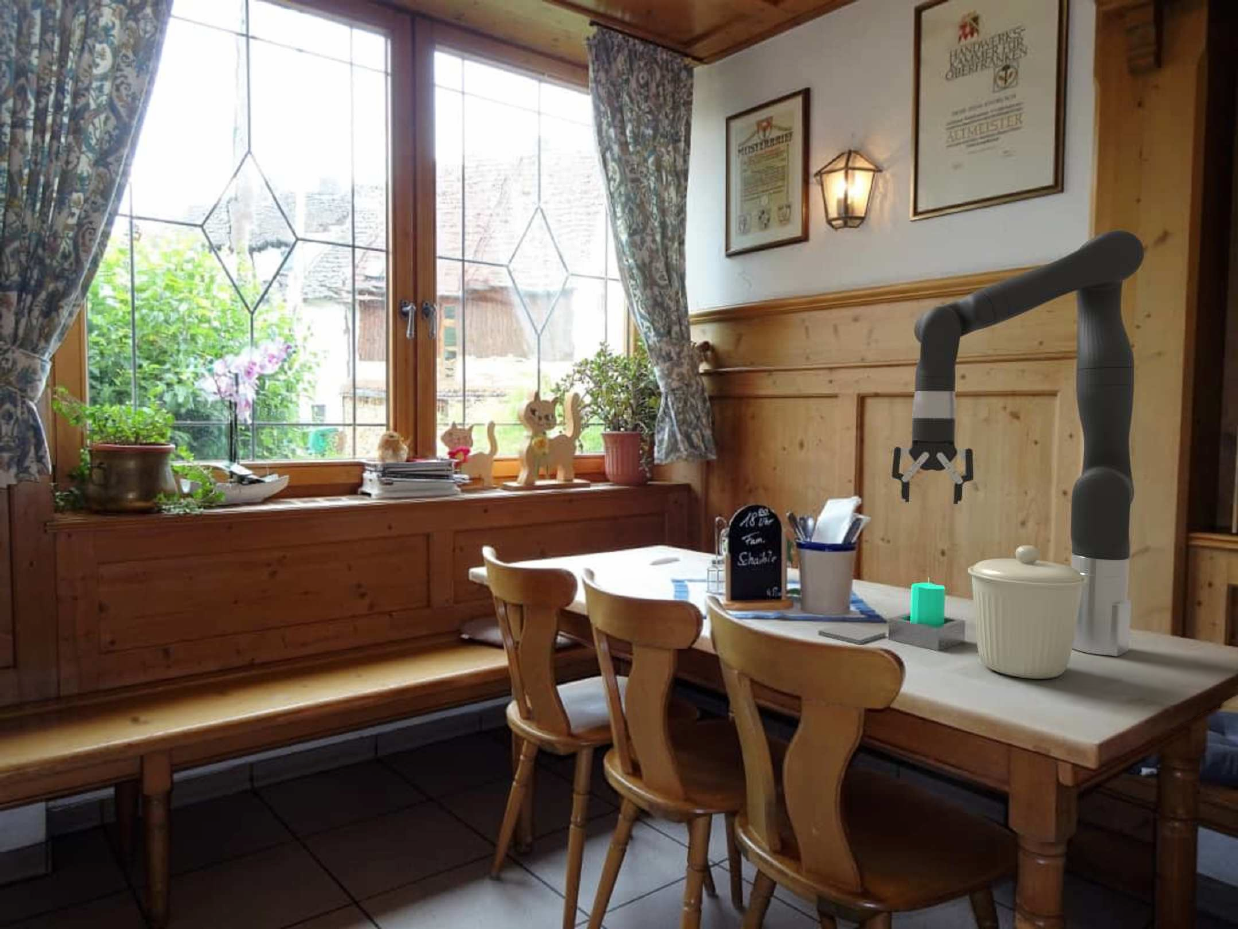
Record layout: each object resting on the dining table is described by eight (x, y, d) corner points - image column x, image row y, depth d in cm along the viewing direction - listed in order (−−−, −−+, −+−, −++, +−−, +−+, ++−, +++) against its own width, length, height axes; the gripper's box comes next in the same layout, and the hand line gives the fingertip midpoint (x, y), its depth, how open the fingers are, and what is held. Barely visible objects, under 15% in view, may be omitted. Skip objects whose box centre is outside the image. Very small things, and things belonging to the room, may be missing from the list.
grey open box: (964, 641, 163) (965, 620, 162) (937, 650, 156) (938, 629, 156) (915, 630, 170) (916, 610, 170) (888, 639, 163) (888, 618, 163)
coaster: (885, 636, 166) (885, 632, 166) (859, 644, 160) (859, 640, 160) (845, 627, 172) (845, 623, 172) (818, 634, 166) (818, 630, 166)
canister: (1078, 695, 132) (1084, 558, 131) (954, 674, 142) (959, 547, 141) (1087, 666, 148) (1093, 544, 146) (974, 649, 157) (979, 534, 156)
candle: (930, 646, 159) (933, 581, 158) (902, 639, 164) (905, 576, 163) (949, 641, 162) (952, 578, 162) (922, 634, 167) (924, 573, 166)
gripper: (973, 416, 162) (970, 502, 163) (894, 415, 166) (891, 499, 167) (976, 416, 155) (973, 506, 156) (893, 415, 159) (890, 503, 160)
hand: (931, 502), depth 162 cm, fingers open, 8 cm apart
